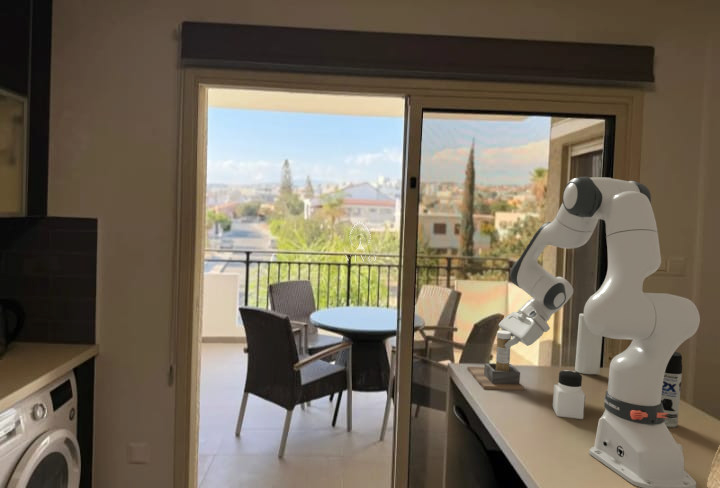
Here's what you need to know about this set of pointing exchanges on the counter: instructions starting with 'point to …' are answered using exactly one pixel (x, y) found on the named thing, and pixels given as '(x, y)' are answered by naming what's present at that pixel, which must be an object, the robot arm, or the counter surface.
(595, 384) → the counter surface
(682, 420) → the counter surface
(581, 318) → the paper towel roll
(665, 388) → the spray can
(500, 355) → the sprinkles bottle
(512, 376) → the socket block
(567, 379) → the medicine bottle
